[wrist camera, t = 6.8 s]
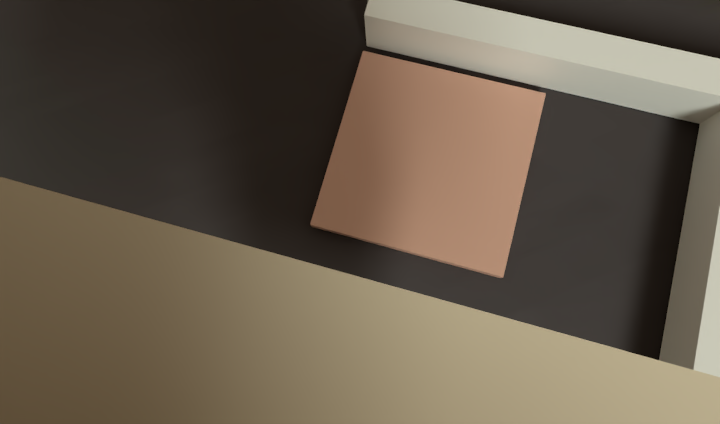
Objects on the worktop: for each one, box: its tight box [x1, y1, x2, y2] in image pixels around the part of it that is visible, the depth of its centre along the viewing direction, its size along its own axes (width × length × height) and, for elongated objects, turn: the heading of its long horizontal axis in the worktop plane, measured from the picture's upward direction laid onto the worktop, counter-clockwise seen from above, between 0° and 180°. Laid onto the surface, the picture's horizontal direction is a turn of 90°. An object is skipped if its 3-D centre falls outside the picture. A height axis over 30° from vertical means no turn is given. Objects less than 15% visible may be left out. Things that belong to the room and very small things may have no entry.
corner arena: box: [310, 0, 720, 377], centre depth 21 cm, size 18×17×2 cm
